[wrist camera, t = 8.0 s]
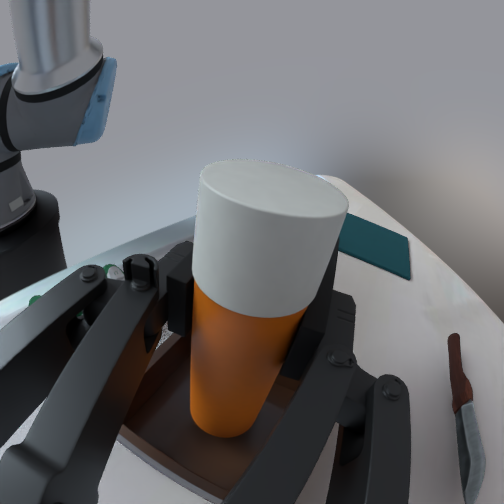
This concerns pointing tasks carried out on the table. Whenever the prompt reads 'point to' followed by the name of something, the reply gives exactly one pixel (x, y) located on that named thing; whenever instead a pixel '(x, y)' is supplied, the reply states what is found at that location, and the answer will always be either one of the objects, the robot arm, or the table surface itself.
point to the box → (192, 426)
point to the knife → (465, 425)
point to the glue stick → (253, 281)
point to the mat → (375, 245)
